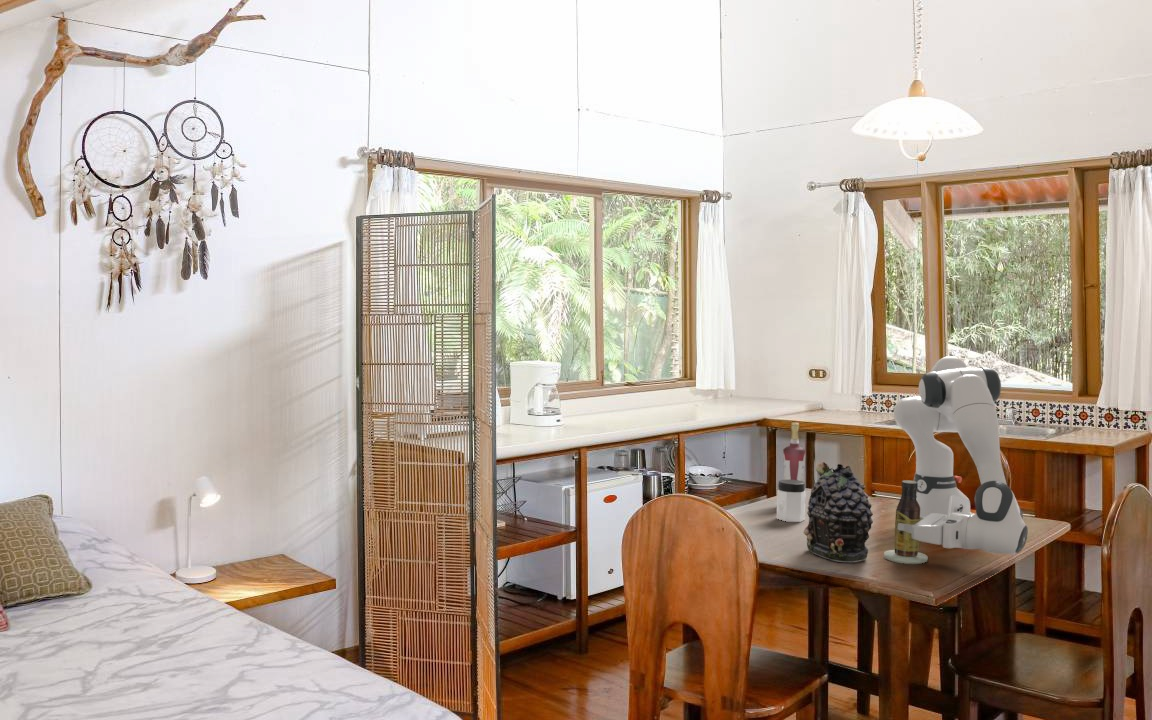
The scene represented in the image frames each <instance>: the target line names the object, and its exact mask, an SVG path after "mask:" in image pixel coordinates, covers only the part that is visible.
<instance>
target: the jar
mask: <svg viewBox="0 0 1152 720" xmlns="http://www.w3.org/2000/svg"><path fill="white" fill-rule="evenodd" d="M776 492H777V493H776V519H777V520H778V519H779V521H781V520H782V521H783V522H785V521H786V523H801V522H803V521H805V520H806V508H807V507H806V505H807V504H806V501H807V500H806V499H807V498H806V497H807V490H806V482H805V481H804V480H803V481H799V480H784V479H780V480H779V481H778V489H777V490H776Z"/></svg>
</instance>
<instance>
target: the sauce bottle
mask: <svg viewBox="0 0 1152 720" xmlns="http://www.w3.org/2000/svg"><path fill="white" fill-rule="evenodd" d="M900 486H901V496H900V499H899V502H898V504H897V506H896V508H895V522H894V525H895V526H894V539H893V540H894V542H893V545H894V546H893V547H894V550H895V553H896V554H898V555H900V556H907V557H914V556H917V555H918V552H919V548H920V541H917V540H915V539H913V538H912V533H908V532H905V531H901V530H898V524H899V523H906V524H910V525H911V524H913V525H914V524H916V523H917V522H919V521H920V506H919V504H918V502H917V500H916V498H917V496H916V494H917V487H918V482H916V481H914V480H910V479H909V480H905V479H903V480H902V481H901V485H900Z"/></svg>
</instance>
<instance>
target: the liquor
mask: <svg viewBox="0 0 1152 720" xmlns="http://www.w3.org/2000/svg"><path fill="white" fill-rule="evenodd" d="M790 430H791V431H790V432H791V433H790V440H789V441H790V443H789V445H788V446H785V447H784V448H783V450H782V453H783V454H782V455H783V458H782V459H783V461H782V463H783V464H782V465H783V466H782V467H783V480H799V481H803V482H804V475H805V474H804V473H805V463H806V462H805V461H806V449H804V447H802V446H800V441H799V438H800V437H799V430H800V423H799V422H791V423H790Z"/></svg>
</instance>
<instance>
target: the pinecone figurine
mask: <svg viewBox="0 0 1152 720" xmlns="http://www.w3.org/2000/svg"><path fill="white" fill-rule="evenodd" d="M815 471H816V482H814V484H813V487H812V488H811V489H810V496H809V499H808V506H807V511H806V514H807V515H808V524H807V526H806V527H805V528H804V530H803V531H802V533H803V534H804V535H805V536H806V547H807V550H808V551H809V552H810V553H812V554H815V555H817V556H819V557H821V558H823V559H828V560H830V561H834V562H837V563H857V562H862V561H866V560H867V557H868V553H869V549H868V547H867V546H866V542H867V540H869V538H870V535H869V531H870V530H871V529H872V524H873V523H874V520H873V519H872V517H873V515H874V513H873V511H872V510H871V509H872V503H871V502H870V501H869V495H868V494H867V493H866V492H865V489H866V485H864V484H862V483H861V482H860V481H859V479H858V478H857V477H856V476H855V474H854V472H852V468H851V467H850V466H849V465H847V466H845V467H844V465H843V464H842V463H840V464H839V463H838V464H837V467H836V468H835V469H834V468H833V467H832V468H830V466H829V465H828V464H827V463H826V462H824V461H821V462H819V463H818V464H816V466H815Z"/></svg>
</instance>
